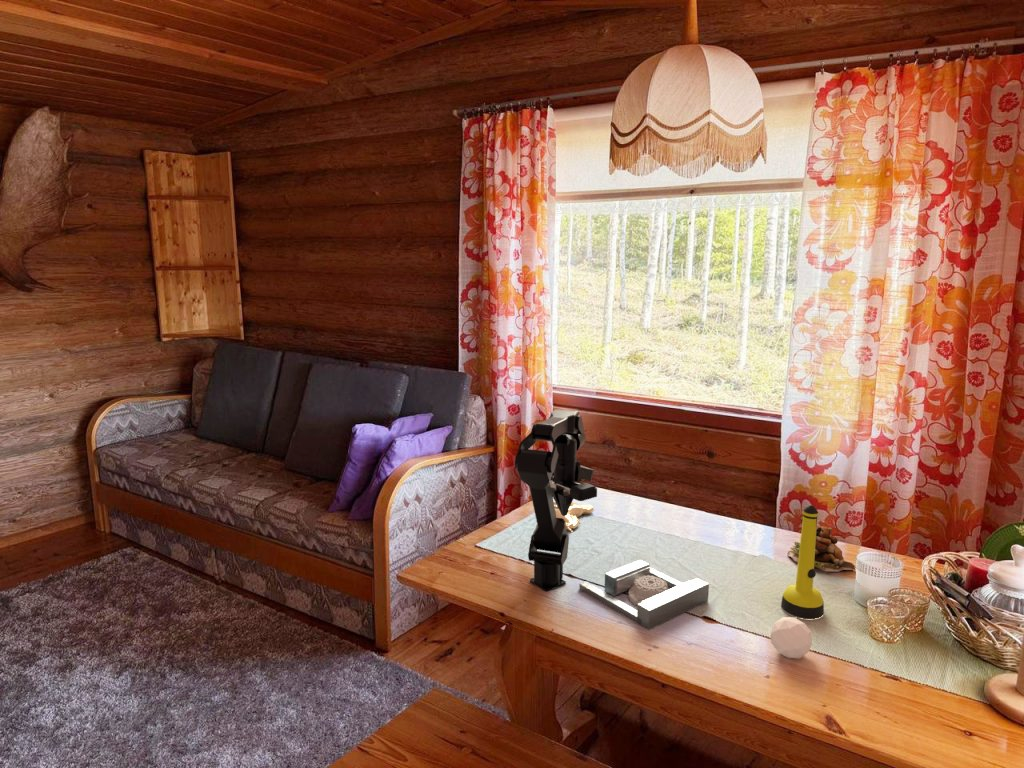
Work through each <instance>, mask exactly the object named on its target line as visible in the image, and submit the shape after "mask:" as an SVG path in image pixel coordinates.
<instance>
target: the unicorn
mask: <svg viewBox="0 0 1024 768" xmlns="http://www.w3.org/2000/svg"><path fill="white" fill-rule="evenodd" d="M553 502H554V507H555V512H556V518H563V519H564V520H565V526H566V528H567V530H566V531H570V532H571V533H572V532H574V531H573V529H576V528H577V527H578V526H579V525H581V524H582V523H581V520H580V519H579V517H581V516H582V515H586V514H591V513H592V512H594V511H595V509H594V506H593V505H592V504H586V505H585V504H584V505H583V504H582V505H580V504H579V503H577V502H576V503H575V502H573V501H572V503H571V506H570V508H569V511H568V513H567V515H566V516H563V515H561V512H560V510H559V508H558V506H557V504H556V502H555V501H553Z"/></svg>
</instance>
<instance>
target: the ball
mask: <svg viewBox="0 0 1024 768" xmlns="http://www.w3.org/2000/svg"><path fill="white" fill-rule="evenodd" d="M770 643H771V645H772V646H773V648H774V649H775V650H776V652H778V653H779V654H780V655H782V656H784V657H785V658H788V659H801V658H802V657H804V656H805V655H806V654H808V653H809V651H810V650H811V648H812V646H813V638H812V631H811V630H810V628H809V627H808V625H806V623H805V622H803V621H801V619H797V618H795V617H792V616H788V617H787V616H786V617H785V616H782V617H781V618H780V619H778V620H777V621H775V622H774V623H773V625H772V627H771V629H770Z"/></svg>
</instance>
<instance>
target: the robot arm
mask: <svg viewBox="0 0 1024 768" xmlns="http://www.w3.org/2000/svg"><path fill="white" fill-rule="evenodd" d="M537 441H542V442H543V441H544V442H551V445H552V451H548V450H547V451H546V450H541V449H540V450H539V449H530V448H531V447H533V446H534V445H535V444H536V443H537ZM585 442H586V434H585V427H584V421H583V417H582V415H580V412H579V411H578V410H571V409H569V410H568V409H560V408H559V409H557V408H554V410H552V411H551V413H550V414H549V417H548V418H547V419H545V420H543V421H541V422H536V423H533V424H532V427H531V431H530V433H528V435H526V437H524V438H523V440H522V441H520V443H519V446H518V449H517V452H516V454H515V455H516V456H515V458H514V466H515V469H516V471H517V473H518V477H519V479H520V480H521V481H522V482H523V483H524V484H526V485H527V486H528V488H529V492H530V493H529V494H530V496H531V501H532V506H533V511H534V515H535V519H536V520H535V521H536V527H535V529H534V531H533V533H532V535H531V537H530V541H529V542H530V543H529V547H528V553H527V555H528V556H527V558H528V561H533V577H532V578H530V579H529V582H530V583H532V584H533V585H535V586H537V587H539V588H540V589H541V590H543V591H545V592H549V591H550V590H553V589H557V588H559V587H561V586H564V585H566V584H567V581H565V580H564V579H563V578H564V571H563V570H564V564H565V561H567V559H568V551H569V543H570V542H569V541H570V535H569V534H568V532H567V531H568V530H567V528H566V526H565V520H564V519H563V518H556V512H555V507H554V502H556V504H557V506H558V508H559V510H560V512H561V515H563V516H566V515H567V513H568V511H569V508H570V506H571V503H572V502H573V501H574V500H576V501H578V502H584V501H588V500H591V499H594V498H597V497H598V488H597V487H596V486H595V485H593V484H590V483H588V482H592V479H593V475H594V472H595V469H592V468H590V467H586V466H585V465H581V462H580V460H577V452H578V450H579V449H581V447H582V446H583V445H584V444H585ZM582 480H586V481H588V482H582ZM580 482H582V483H580Z"/></svg>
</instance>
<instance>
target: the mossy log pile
mask: <svg viewBox="0 0 1024 768" xmlns="http://www.w3.org/2000/svg"><path fill="white" fill-rule="evenodd" d="M800 522H801V523H802V522H803V516H802V517H800ZM832 532H833V528H832V527H827V526H821V525H820V524H819V523H818V522H817V527H816V543H815V559H814V568H817V569H818V570H819V569H820V570H822V571H824V572H833V573H839V572H840V571H843V570H844V571H845V570H846V571H848V570H849V571H855V570H856V569H855V568H856V566H855V564H854V563H852V562H849V561H847V560H846V559H845V558H844V556H843V551H842V549H841V548H840V547H839V546H837V544H838V539H837V537H835V536H834V535H831V534H832ZM793 544H794V545H793V546H792V547H790V549H789V550H788V551H787V553H786V554H787V557H791V559H792V560H793V561H794V562H795V563H796V564H798V559H799V549H800V542H798V541H794V542H793Z"/></svg>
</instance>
